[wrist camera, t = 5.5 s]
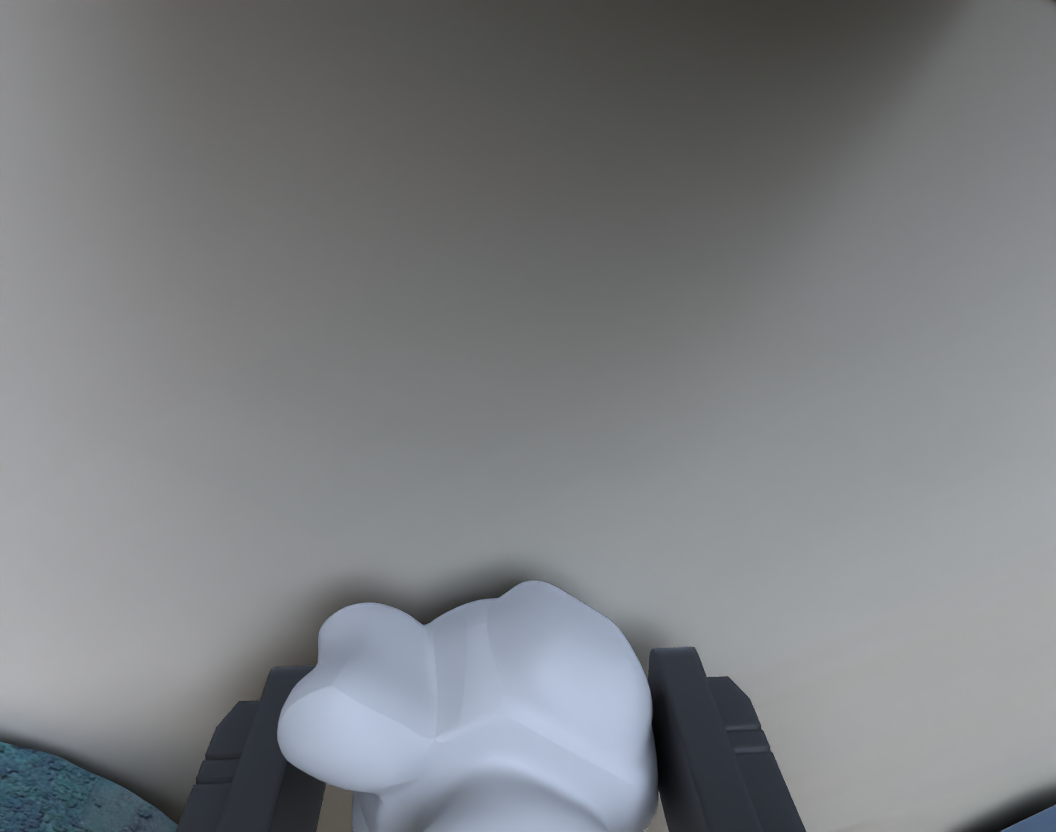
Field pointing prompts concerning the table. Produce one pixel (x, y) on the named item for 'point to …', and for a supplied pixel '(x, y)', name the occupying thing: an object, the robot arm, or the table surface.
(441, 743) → the rubber duck
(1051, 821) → the bowl
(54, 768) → the terrain model
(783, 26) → the table surface
